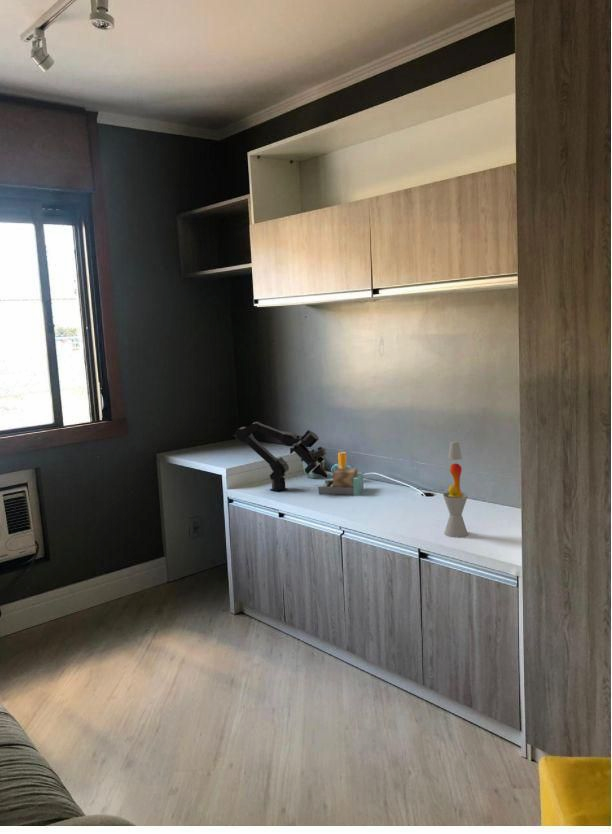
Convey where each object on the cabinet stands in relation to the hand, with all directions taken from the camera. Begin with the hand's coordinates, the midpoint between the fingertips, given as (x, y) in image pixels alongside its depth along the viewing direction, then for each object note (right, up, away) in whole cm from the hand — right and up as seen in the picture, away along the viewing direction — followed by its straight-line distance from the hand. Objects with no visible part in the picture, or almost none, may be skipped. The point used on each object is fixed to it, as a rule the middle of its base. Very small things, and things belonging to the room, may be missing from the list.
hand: (327, 476), depth 323 cm
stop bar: (+15, -7, -3) cm, 17 cm away
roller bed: (+6, -7, -1) cm, 9 cm away
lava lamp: (+46, -15, -72) cm, 87 cm away
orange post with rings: (+9, -4, +20) cm, 22 cm away
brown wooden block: (+9, -4, -2) cm, 10 cm away
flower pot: (-6, -3, +32) cm, 33 cm away
